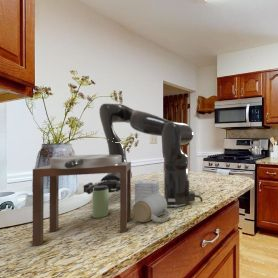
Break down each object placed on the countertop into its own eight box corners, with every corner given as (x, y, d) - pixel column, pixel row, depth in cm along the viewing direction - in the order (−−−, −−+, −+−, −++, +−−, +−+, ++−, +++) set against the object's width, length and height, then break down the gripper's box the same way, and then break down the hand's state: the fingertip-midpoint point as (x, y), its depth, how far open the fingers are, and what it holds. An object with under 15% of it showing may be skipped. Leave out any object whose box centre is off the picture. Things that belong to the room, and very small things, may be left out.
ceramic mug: (130, 222, 65) (130, 198, 65) (149, 213, 73) (149, 191, 73) (159, 226, 62) (159, 201, 62) (175, 216, 70) (175, 194, 70)
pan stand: (131, 216, 71) (132, 153, 71) (120, 248, 50) (120, 159, 50) (56, 225, 63) (56, 155, 63) (4, 269, 42) (5, 163, 42)
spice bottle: (109, 212, 74) (109, 184, 74) (106, 216, 70) (106, 187, 70) (94, 214, 72) (94, 185, 72) (90, 218, 68) (91, 188, 68)
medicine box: (159, 202, 86) (159, 181, 86) (153, 205, 81) (153, 184, 81) (141, 201, 87) (141, 181, 87) (134, 205, 82) (134, 183, 82)
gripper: (92, 174, 86) (78, 181, 71) (131, 172, 92) (126, 178, 77) (92, 191, 86) (78, 202, 71) (131, 188, 92) (126, 198, 77)
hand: (103, 190), depth 74 cm, fingers open, 8 cm apart
